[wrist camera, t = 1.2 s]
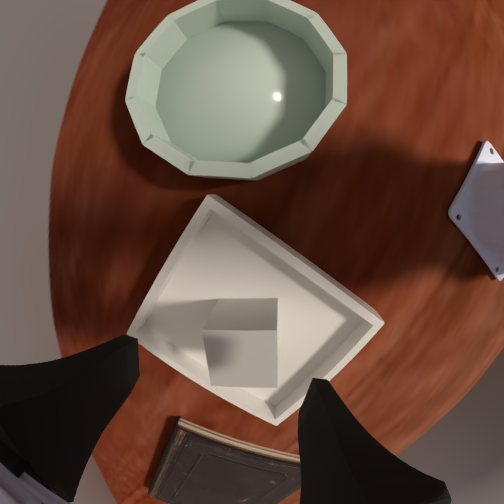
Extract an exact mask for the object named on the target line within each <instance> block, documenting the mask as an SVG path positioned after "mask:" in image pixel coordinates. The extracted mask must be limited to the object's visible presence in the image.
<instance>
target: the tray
mask: <svg viewBox="0 0 504 504" xmlns="http://www.w3.org/2000/svg"><path fill="white" fill-rule="evenodd" d="M223 298H278V328H279V360H278V388H247V387H224V386H211V383H210V377H209V371H208V365H207V359H206V353H205V346H204V340H203V333H202V329H203V327H204V325H205V323H206V322H207V320H208V318H209V316H210V314H211V313H212V311H213V309H214V307H215V305H216V304H217V302H218V300H219V299H223ZM383 325H384V321H383V320H382V319H381V317H380V316H379V314H378V313H377V312H376V310H375V309H373V308H372V307H371V306H369V305H368V304H367V303H365V302H364V301H363V300H362V299H360V298H359V297H358V296H356V295H355V294H354V293H352V292H351V291H350V290H348V289H347V288H346V287H344V286H343V285H342V284H340V283H339V282H338V281H336V280H335V279H334V278H332V277H331V276H330V275H328V274H327V273H326V272H324V271H323V270H321V269H320V268H319V267H317V266H316V265H315V264H313V263H312V262H311V261H309V260H308V259H307V258H305V257H304V256H302V255H301V254H300V253H298V252H297V251H296V250H294V249H293V248H291V247H290V246H289V245H287V244H286V243H284V242H283V241H282V240H280V239H279V238H277V237H276V236H275V235H273V234H272V233H270V232H269V231H268V230H266V229H265V228H263V227H262V226H261V225H259V224H258V223H256V222H255V221H254V220H252V219H251V218H249V217H248V216H246V215H245V214H244V213H242V212H241V211H239V210H238V209H236V208H235V207H234V206H232V205H231V204H229V203H228V202H226V201H225V200H223V199H222V198H221V197H219V196H218V195H216V194H210V195H207V196H206V197H205V199H204V200H203V202H202V203H201V205H200V207H199V208H198V210H197V211H196V213H195V214H194V216H193V218H192V219H191V221H190V222H189V224H188V226H187V227H186V229H185V230H184V232H183V234H182V235H181V237H180V239H179V240H178V242H177V244H176V245H175V247H174V248H173V250H172V252H171V254H170V255H169V257H168V259H167V260H166V262H165V264H164V265H163V267H162V269H161V271H160V272H159V274H158V276H157V278H156V279H155V281H154V283H153V285H152V287H151V288H150V290H149V292H148V294H147V296H146V297H145V299H144V301H143V303H142V305H141V307H140V308H139V310H138V312H137V314H136V316H135V318H134V320H133V322H132V324H131V326H130V328H129V329H128V331H127V333H126V334H127V335H129V336H131V337H134V338H137V339H138V343H139V344H140V345H142V346H143V347H144V348H146V349H147V350H149V351H150V352H151V353H153V354H154V355H156V356H157V357H158V358H160V359H161V360H163V361H164V362H166V363H167V364H168V365H170V366H171V367H173V368H174V369H176V370H177V371H179V372H180V373H182V374H183V375H185V376H187V377H188V378H190V379H191V380H193V381H194V382H196V383H198V384H199V385H201V386H203V387H204V388H206V389H208V390H209V391H211V392H213V393H214V394H216V395H218V396H220V397H221V398H223V399H225V400H227V401H228V402H230V403H232V404H234V405H236V406H238V407H240V408H241V409H243V410H245V411H247V412H249V413H251V414H253V415H255V416H257V417H259V418H261V419H263V420H265V421H267V422H269V423H271V424H274V425H276V426H277V425H278V424H280V423H281V422H282V421H283V420H285V419H286V418H287V417H288V416H290V415H291V414H292V413H293V412H295V411H296V410H297V409H298V408H299V407H301V406H302V403H303V401H304V398H305V396H306V393H307V391H308V388H309V386H310V383H311V381H312V378H319V379H327V380H328V381H330V380H331V379H332V378H333V377H334V376H335V375H336V374H337V373H338V372H339V371H340V370H341V369H342V368H343V367H344V366H345V365H346V364H347V363H348V362H349V361H350V360H351V359H352V358H353V357H354V356H355V355H356V354H357V353H358V352H359V351H360V350H361V349H362V348H363V347H364V346H365V345H366V344H367V342H368V341H369V340H370V339H371V338H372V337H373V336H374V335H375V334H376V333H377V331H378V330H379V329H380V328H381V327H382V326H383Z"/></svg>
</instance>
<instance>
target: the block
mask: <svg viewBox="0 0 504 504" xmlns="http://www.w3.org/2000/svg"><path fill="white" fill-rule="evenodd" d="M202 333H203V340H204V346H205V353H206V359H207V365H208V371H209V377H210V383H211V386H224V387H247V388H278V360H279V328H278V298H223V299H219V300H218V302H217V304H216V305H215V307H214V309H213V311H212V313H211V314H210V316H209V318H208V320H207V322H206V323H205V325H204V327H203V329H202Z"/></svg>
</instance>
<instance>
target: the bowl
mask: <svg viewBox="0 0 504 504" xmlns="http://www.w3.org/2000/svg"><path fill="white" fill-rule="evenodd" d="M125 100H126V101H125V102H126V104H127V107H128V110H129V112H130V115H131V117H132V120H133V122H134V125H135V127H136V130H137V132H138V135H139V137H140V140H141V142H142V144H143V145H144V146H145V147H147V148H148V149H150V150H151V151H153V152H154V153H156V154H157V155H159V156H160V157H162V158H163V159H165V160H166V161H168V162H169V163H171V164H172V165H174V166H175V167H177V168H178V169H180V170H181V171H183V172H184V173H186V174H187V175H192V176H198V177H204V178H221V179H236V180H250V181H256V180H257V181H258V180H260V179H263V178H265V177H267V176H269V175H271V174H274V173H276V172H278V171H280V170H283V169H285V168H287V167H289V166H292V165H294V164H296V163H299V162H301V161H303V160H305V159H307V157H308V156H309V155H310V154H311V153H312V151H313V150H314V149H315V147H316V146H317V144H318V143H319V142H320V140H321V139H322V138H323V136H324V135H325V133H326V132H327V131H328V129H329V128H330V127H331V125H332V124H333V123H334V121H335V120H336V118H337V117H338V116H339V114H340V113H341V112H342V110H343V109H344V108H345V106H346V104H347V54H346V52H345V50H344V49H343V47H342V46H341V44H340V43H339V41H338V40H337V39H336V37H335V36H334V35H333V33H332V32H331V30H330V29H329V28H328V26H327V25H326V24H325V23H324V21H323V20H322V19H321V17H320V16H319V15H318V14H316V12H314V11H312V10H310V9H308V8H306V7H304V6H301V5H299V4H297V3H295V2H293V1H290V0H198V1H196V2H194V3H192V4H190V5H187V6H185V7H183V8H181V9H179V10H177V11H175V12H173V13H171V14H170V15H168V16H167V17H166V18H165V19H164V20H163V21H162V22H161V23H160V24H159V25H158V27H157V28H156V29H155V30H154V31H153V32H152V33H151V35H150V36H149V37H148V38H147V39H146V41H145V42H144V43H143V44H142V46H141V47H140V48H139V49H138V51H137V52H136V53H135V56H134V60H133V64H132V68H131V73H130V77H129V82H128V87H127V92H126V98H125Z"/></svg>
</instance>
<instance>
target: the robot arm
mask: <svg viewBox="0 0 504 504" xmlns="http://www.w3.org/2000/svg"><path fill="white" fill-rule="evenodd" d="M490 151H491V153H490ZM448 215H449V217H450V219H451V220H452V221H453V222H454V223H455V225H456V226H457V227H458V228H459V229H460V231H461V232H462V233H463V234H464V235H465V237H466V238H467V239H468V240H469V242H470V243H471V244H472V246H473V247H474V248H475V250H476V251H477V252H478V254H479V255H480V256H481V258H482V259H483V260H484V262H485V263H486V265H487V266H488V267H489V269H490V270H491V272H492V273H493V275H494V276H495V278H496V279H497V280H499V281H501V280H502V279H503V278H504V162H503V160H502V159H501V157H500V156H499V155H498V153H497V152H496V150H495V149H494V148H493V146H492V145H491V144H490V142H489V141H484V142H483V143H482V145H481V148H480V150H479V152H478V154H477V156H476V159H475V161H474V163H473V165H472V167H471V169H470V171H469V173H468V175H467V177H466V179H465V181H464V183H463V184H462V186H461V188H460V190H459V192H458V194H457V195H456V197H455V199H454V201H453V203H452V204H451V206H450V208H449V210H448ZM457 215H458V220H457V218H456V217H457ZM496 267H497V268H496ZM139 376H140V375H139V357H138V339H137V338H134V337H131V336H128V335H123V336H120V337H118V338H115V339H113V340H110V341H108V342H105V343H103V344H101V345H98V346H96V347H93V348H91V349H88V350H86V351H83V352H80V353H77V354H74V355H71V356H68V357H65V358H61V359H58V360H53V361H49V362H43V363H37V364H28V365H16V366H15V365H13V366H12V365H7V366H6V365H0V504H70V503H69V502H73V501H74V497H75V494H76V491H77V487H78V485H79V481H80V479H81V476H82V474H83V471H84V469H85V467H86V464H87V462H88V460H89V458H90V456H91V453H92V451H93V449H94V447H95V445H96V443H97V441H98V440H99V438H100V436H101V434H102V432H103V431H104V429H105V428H106V426H107V425H108V423H109V422H110V421H111V419H112V418H113V417H114V415H115V414H116V412H117V411H118V410H119V408H120V407H121V406H122V404H123V403H124V401H125V400H126V399H127V397H128V396H129V394H130V393H131V391H132V389H133V387H134V386H135V384H136V382H137V380H138V378H139ZM298 442H299V455H300V467H301V496H300V504H450V503H451V497H450V494H449V492H448V489H447V487H446V484H445V482H443V481H440V480H438V479H436V478H433V477H431V476H429V475H426V474H424V473H422V472H420V471H418V470H416V469H415V468H413V467H411V466H409V465H408V464H406V463H405V462H403V461H402V460H400V459H398V458H397V457H396V456H395V455H393V454H392V453H391V452H389V451H388V450H387V449H386V448H384V447H383V446H382V445H381V444H380V443H379V442H378V441H377V440H375V439H374V438H373V437H372V436H371V435H370V434H369V433H368V432H367V431H366V430H365V428H364V427H363V426H362V425H361V424H360V423H359V422H358V421H357V419H356V418H355V417H354V416H353V414H352V413H351V412H350V411H349V409H348V408H347V407H346V405H345V404H344V403H343V401H342V400H341V398H340V397H339V396H338V394H337V393H336V391H335V390H334V388H333V387H332V386H331V384H330V383H329V381H328V380H327V379H319V378H312V381H311V383H310V386H309V388H308V391H307V393H306V396H305V398H304V401H303V403H302V406H301V408H300V411H299V418H298Z"/></svg>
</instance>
